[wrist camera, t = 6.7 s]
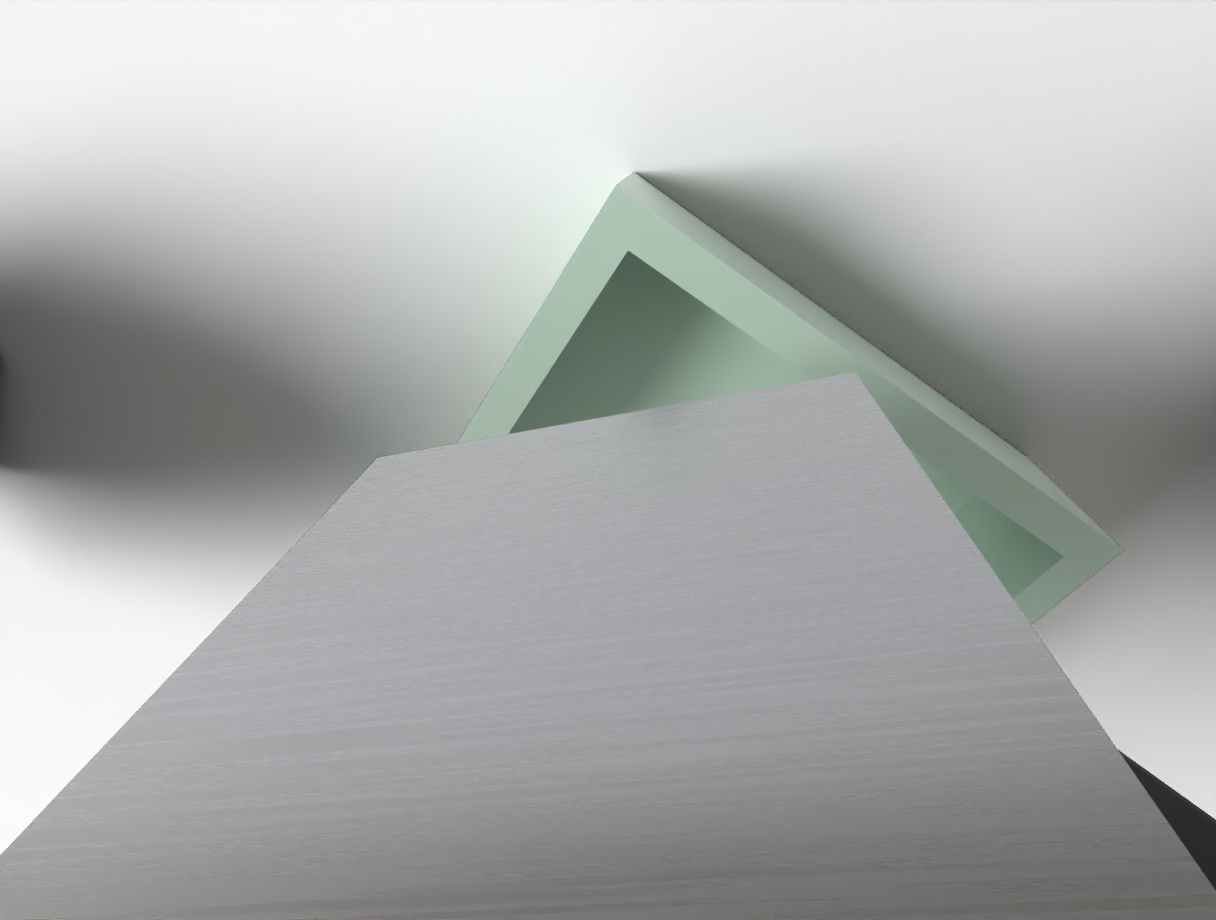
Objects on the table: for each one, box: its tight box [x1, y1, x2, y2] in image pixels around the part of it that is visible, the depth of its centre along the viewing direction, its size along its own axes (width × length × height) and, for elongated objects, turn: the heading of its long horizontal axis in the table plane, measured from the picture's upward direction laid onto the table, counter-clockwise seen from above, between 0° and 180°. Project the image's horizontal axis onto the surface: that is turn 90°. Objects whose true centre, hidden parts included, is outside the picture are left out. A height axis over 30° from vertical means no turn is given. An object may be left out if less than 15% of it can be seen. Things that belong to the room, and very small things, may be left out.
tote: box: [457, 172, 1124, 624], centre depth 18 cm, size 13×13×4 cm
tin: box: [0, 372, 1216, 920], centre depth 6 cm, size 6×6×7 cm
